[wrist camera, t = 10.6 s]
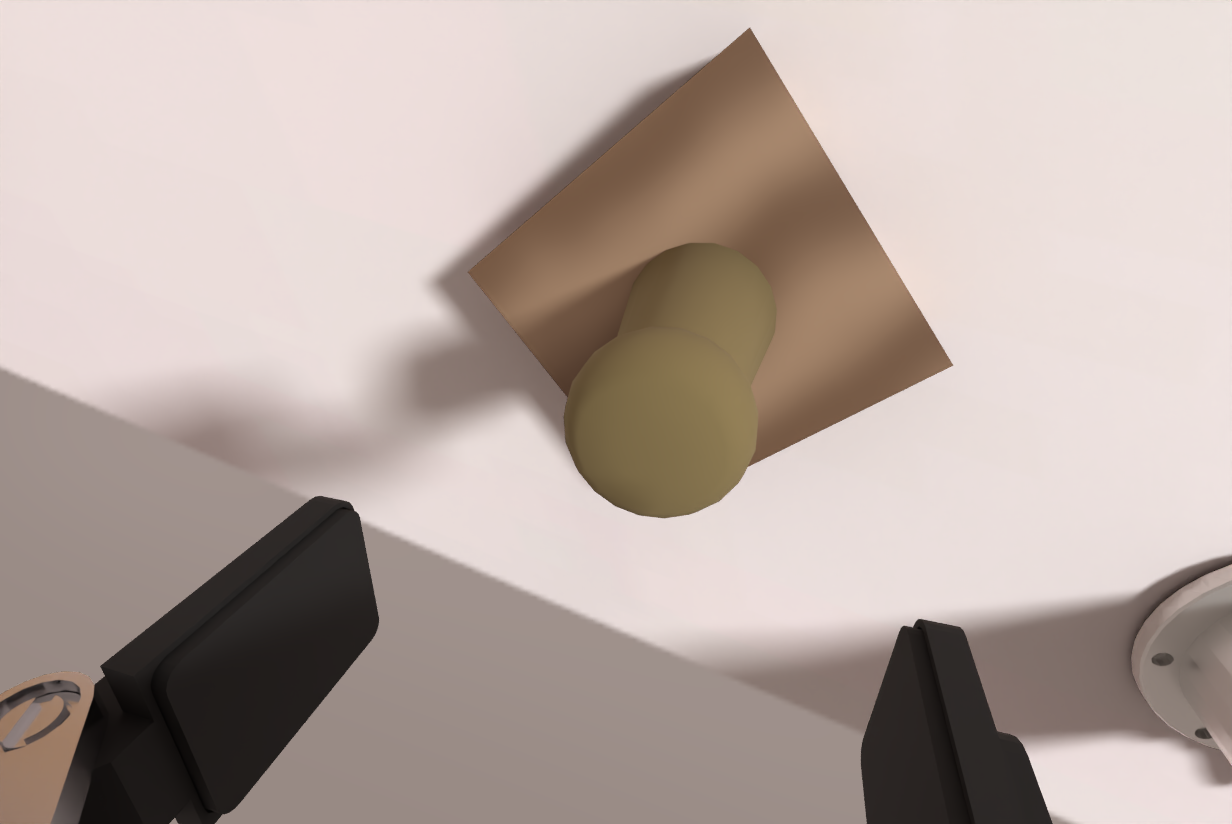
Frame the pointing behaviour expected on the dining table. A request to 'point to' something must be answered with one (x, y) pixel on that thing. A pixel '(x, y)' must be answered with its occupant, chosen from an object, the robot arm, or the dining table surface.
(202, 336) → the dining table surface
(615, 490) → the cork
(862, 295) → the walnut plinth
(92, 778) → the robot arm
